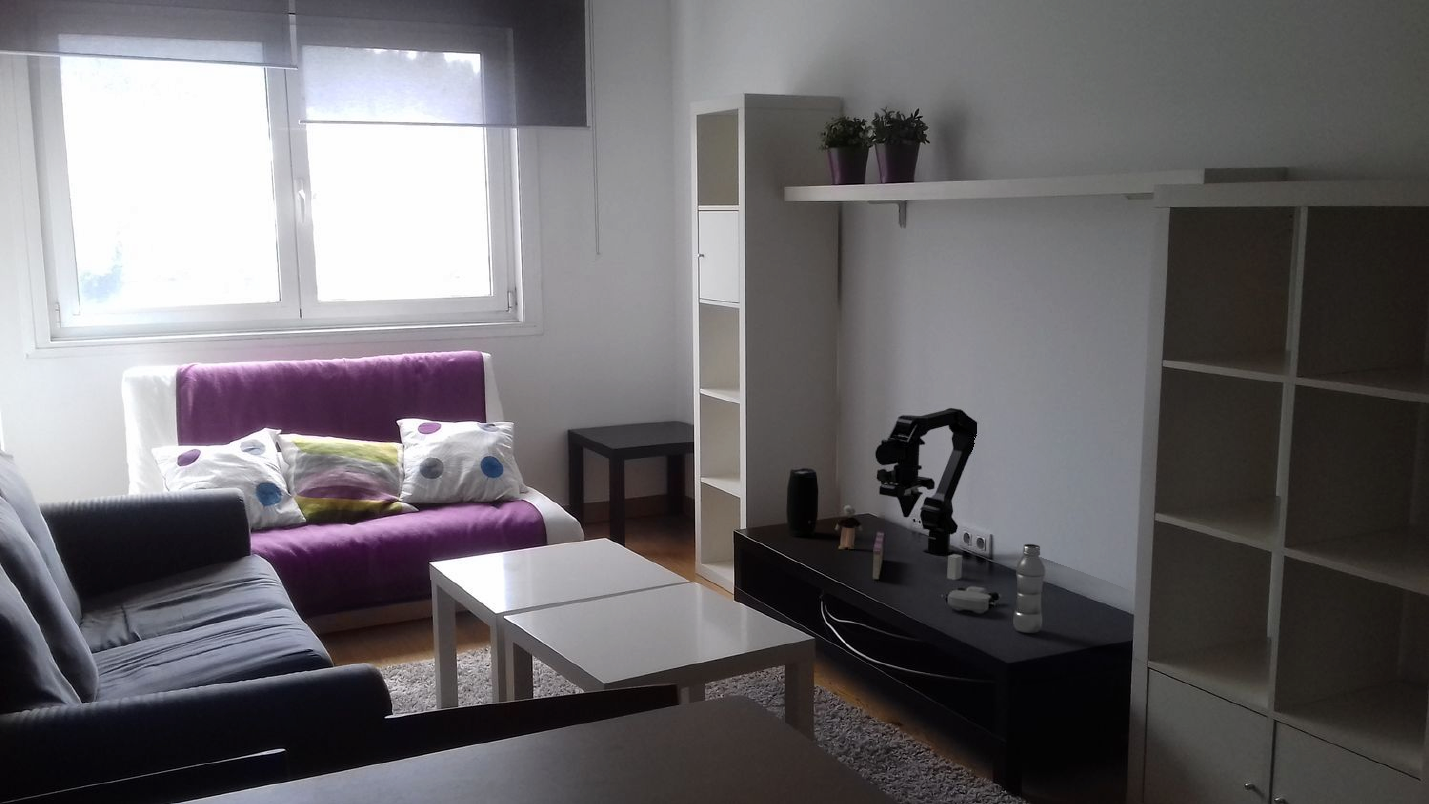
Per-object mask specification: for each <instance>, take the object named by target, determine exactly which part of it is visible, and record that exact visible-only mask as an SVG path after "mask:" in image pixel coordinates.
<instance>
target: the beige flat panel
mask: <svg viewBox="0 0 1429 804" xmlns="http://www.w3.org/2000/svg"><path fill="white" fill-rule="evenodd" d="M885 538H886V532H885V531H882V530H881V531H876V537H875V542H874V545H873V551H872V554H873V562H872V563H873V564H872V566H873V567H872V580H879V578H880V573H881V570H882V564H883V560H884V559H885V542H886V539H885Z"/></svg>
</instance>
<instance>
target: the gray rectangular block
mask: <svg viewBox="0 0 1429 804" xmlns="http://www.w3.org/2000/svg"><path fill="white" fill-rule="evenodd" d="M962 567H963V555H960V554H957V553H956V554H955V553H953V554H951V555H948V556H947V571H946V572H947V575H946V576H947V577H946V579H949V580H953V581H957V580H959V579H962V574H963V573H962V571H963V569H962Z"/></svg>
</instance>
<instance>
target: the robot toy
mask: <svg viewBox="0 0 1429 804" xmlns="http://www.w3.org/2000/svg"><path fill="white" fill-rule="evenodd" d="M941 597H942V598H944V600H945V602H946V603H947V604H948V605H947V606H950V607H952V608H953V609H954V610H955V611H959V612H960V611H962V610H963V611H964V610H966V611H967V610H968V611H973V612H974V613H976V614H977V613H978V614H979V615H982V614H984V613H985V612H987V611H988V610H991V609H992V608H993V607H994V606H996V605H997V603H996V601H998V600H999V599H1001V598H1002V597H1003V595H1002V594H999V593H998V592H996V591H995V592H989V593H988V590H987V589H986V588H984V587H980V586H968V587H967V588H966V589H965V588H964V587H957V588H956V590H952V591H950V592H947V594H946V595H943V594H941Z"/></svg>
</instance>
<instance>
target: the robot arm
mask: <svg viewBox="0 0 1429 804" xmlns="http://www.w3.org/2000/svg"><path fill="white" fill-rule="evenodd" d="M977 423H978V421H976V420H975V419H973V418H972V417H971V416H969V415H968V414H967V413H966V412H965V411H964V410H963V409H961V408H960V409H959V408H953V407H949V408H947V409H944V410H939V411H936V412H932V413H928V414H923V415H912V414H911V415H910V414H909V415H903V414H902V415H899V416H898V418H897V420H896V422H895V423H894V425H893V427H892V429H891V431H890V433H889V434H888V437H887V439H881V443H880V444H879V445H878V446H877V447H876V450H875V451H874V452H875V453H874V454H875V455H874V456H875V459H876V462H877V463H878V464H879V465H881V466H887V465H894V466H893V469H892V470H886V468H881V469H878V470H877V472H876V480H877V481H878V482H880V486H879V487H878V493H879V495H882V496H887V497H892V498H897V500H898V503H899V506H900V509H901V512H902V516H903V517H904V518H909V517H910V515H911V513H912V511H913V509H914V508H915V506H916V504H917V502H918V501H919V499H920V497H921V495H923V491H920V490H919V488H926V490H928V491H930V490H935V486H936V484H935V481H934V479H933V478H931V477H925V476H920V475H919V470H920V471H921V470H922V468H923V467H922V466H923V465H920V464H919V463H920V446H922V445H923V446H924V445H926V442H925V441H924V440H923V439H922V437H924V436H926V435H927V433H928V432H930V431H933V430H936V429H940V428H943V427H948V429H949V430H950V431H951V433H952V435H951V442H952V451H951V453H950V456H949V458H948V461H947V463H946V466H945V468H944V471H943V472H942V476H941V478H940V481H939V483H938V486H937V488H936V490H935V493H934V494H933V495H932V496H931V497H930V496H926V497H925V498H924V500H923V504H922V506H921V507H920V513H919V517H920V521H921V525H922V530H927V531H928V536H927V537H928V538H927V548H925V549H923V550H922V551H923V552H924V551H925V552H924V553H928V552H929V554H932V553H933V555H937V556H944V555H945V556H946V555H948V554H951V552H952V553H954V552H955V549H950V546H951V535H954V534H956V533H957V531H958V527H959V525H958V524H957V522H956V521H955V519H953V514H954V509H953V508H954V507H953V502H952V501H953V498H954V496H955V493H956V490H957V488H958V486H959V483H960V480H961V477H962V476H963V472H964V471H965V467H966V466H967V463H968V460H969V457H970V456H971V455H972V453H971V452H972V450H973V447H974V444H975V443H974V440H975V438H976V436H977V435H976V434H977ZM974 437H975V438H974Z"/></svg>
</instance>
